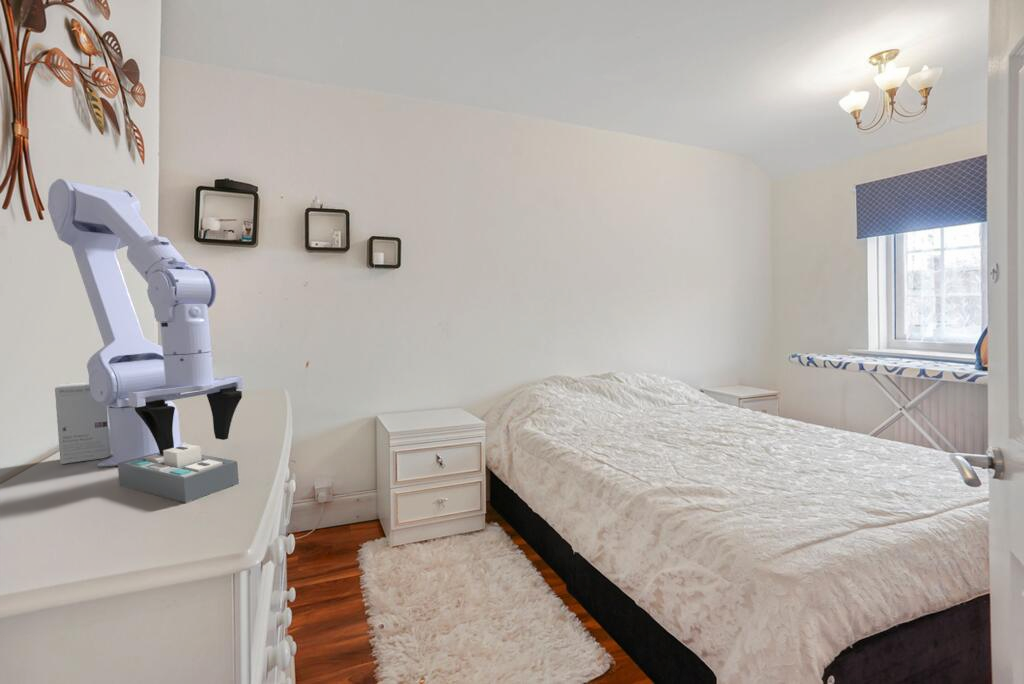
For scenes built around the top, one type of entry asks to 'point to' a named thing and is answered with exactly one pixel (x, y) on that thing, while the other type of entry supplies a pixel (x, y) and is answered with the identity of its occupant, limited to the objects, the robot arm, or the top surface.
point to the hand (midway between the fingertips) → (195, 445)
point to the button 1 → (155, 458)
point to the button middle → (182, 455)
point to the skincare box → (81, 424)
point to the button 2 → (203, 465)
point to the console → (177, 478)
